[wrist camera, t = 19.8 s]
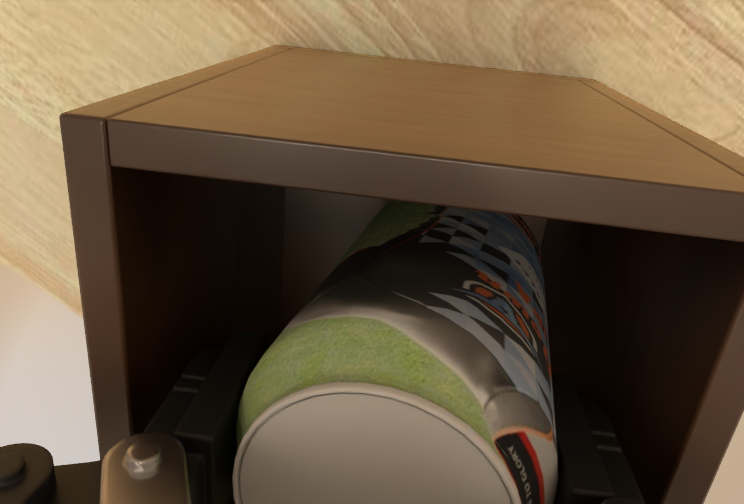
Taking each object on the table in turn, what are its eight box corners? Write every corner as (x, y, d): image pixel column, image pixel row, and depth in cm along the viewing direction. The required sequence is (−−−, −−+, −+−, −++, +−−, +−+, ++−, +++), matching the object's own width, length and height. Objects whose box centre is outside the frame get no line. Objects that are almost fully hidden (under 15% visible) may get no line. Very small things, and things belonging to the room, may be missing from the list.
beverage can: (513, 347, 21) (601, 713, 10) (313, 316, 22) (194, 642, 11) (556, 182, 19) (732, 436, 8) (330, 148, 19) (197, 350, 8)
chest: (274, 44, 22) (56, 112, 9) (595, 79, 22) (836, 203, 9) (266, 346, 28) (121, 653, 15) (522, 380, 27) (605, 731, 14)
